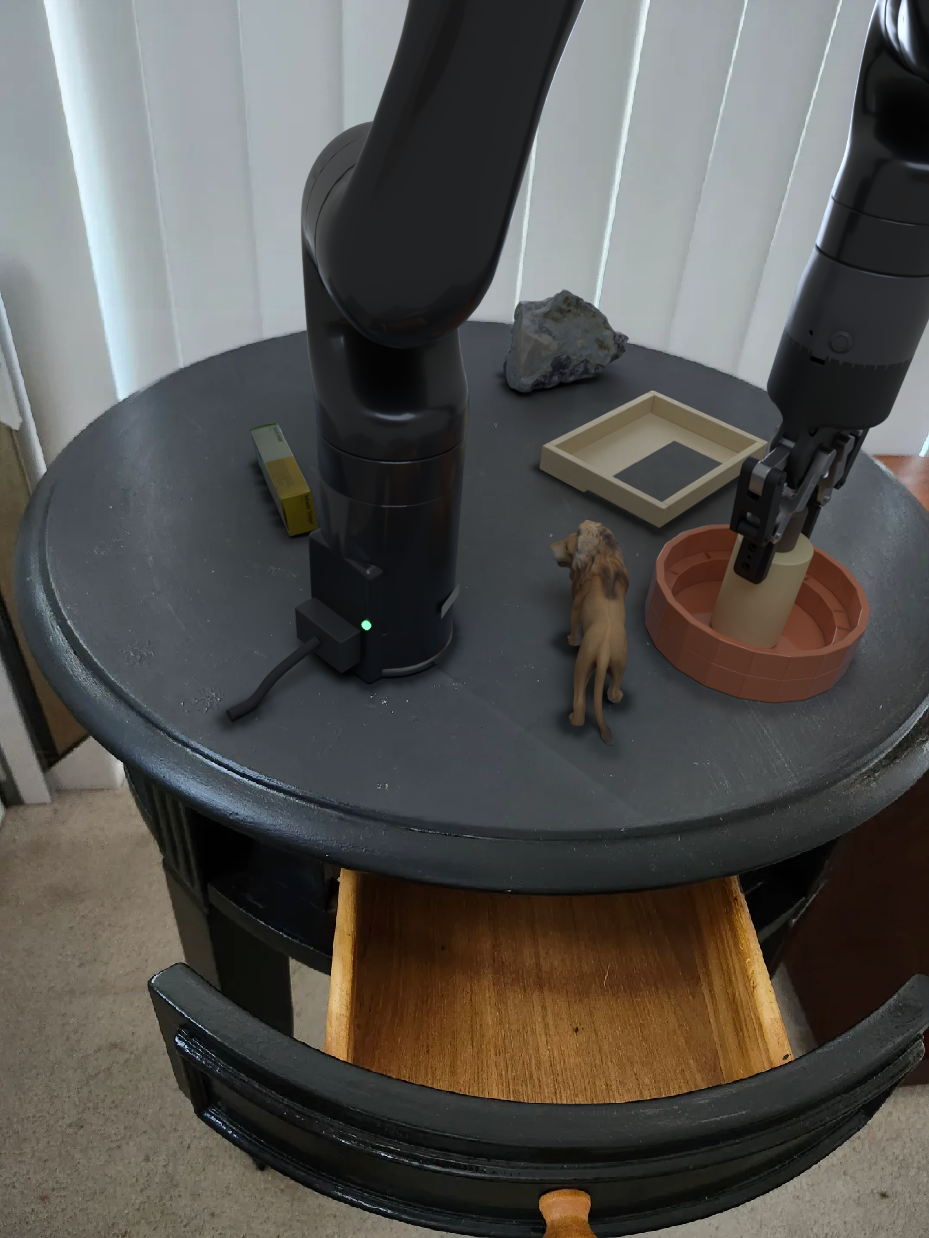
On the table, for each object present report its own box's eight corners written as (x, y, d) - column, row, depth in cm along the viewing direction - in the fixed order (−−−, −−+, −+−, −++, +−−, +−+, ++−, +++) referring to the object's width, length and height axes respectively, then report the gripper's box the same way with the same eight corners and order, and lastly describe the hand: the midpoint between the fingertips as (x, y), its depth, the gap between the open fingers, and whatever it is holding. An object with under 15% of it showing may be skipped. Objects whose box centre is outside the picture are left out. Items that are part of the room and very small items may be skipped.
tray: (658, 533, 80) (664, 509, 78) (539, 468, 87) (542, 445, 85) (761, 464, 90) (768, 442, 88) (647, 411, 97) (652, 389, 95)
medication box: (256, 465, 84) (248, 426, 81) (285, 459, 84) (278, 420, 82) (287, 538, 75) (279, 497, 73) (320, 530, 76) (313, 489, 73)
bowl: (781, 742, 62) (804, 689, 59) (603, 629, 70) (614, 578, 66) (880, 640, 71) (904, 590, 68) (711, 551, 78) (726, 501, 75)
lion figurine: (536, 607, 71) (551, 509, 65) (604, 606, 72) (625, 509, 66) (572, 752, 60) (594, 650, 54) (651, 749, 61) (681, 649, 55)
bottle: (757, 661, 67) (804, 537, 60) (697, 625, 69) (735, 503, 62) (792, 630, 70) (841, 508, 63) (733, 597, 72) (774, 477, 65)
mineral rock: (622, 367, 104) (639, 279, 98) (619, 412, 96) (638, 319, 90) (509, 353, 105) (518, 264, 99) (497, 395, 97) (506, 302, 91)
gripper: (848, 285, 60) (773, 502, 71) (732, 341, 52) (667, 576, 63) (960, 323, 57) (863, 546, 68) (855, 390, 48) (763, 631, 59)
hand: (769, 559), depth 65 cm, fingers closed on bottle, 5 cm apart
